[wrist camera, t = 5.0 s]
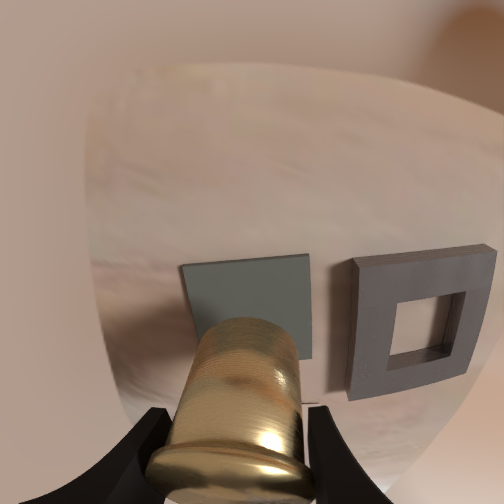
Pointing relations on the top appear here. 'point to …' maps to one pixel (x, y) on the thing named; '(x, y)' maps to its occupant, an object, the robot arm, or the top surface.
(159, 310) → the top surface
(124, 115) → the top surface
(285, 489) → the gold rounded piece
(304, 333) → the mat
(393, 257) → the housing
